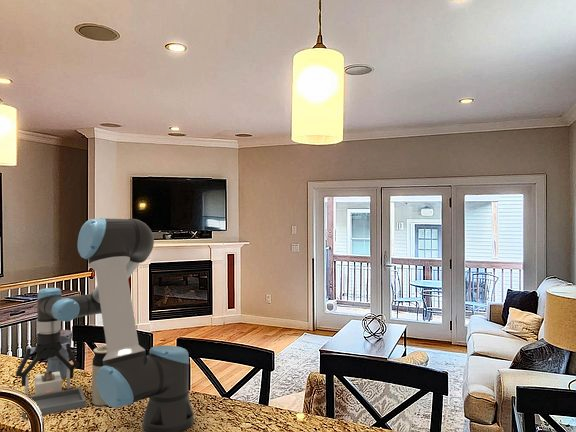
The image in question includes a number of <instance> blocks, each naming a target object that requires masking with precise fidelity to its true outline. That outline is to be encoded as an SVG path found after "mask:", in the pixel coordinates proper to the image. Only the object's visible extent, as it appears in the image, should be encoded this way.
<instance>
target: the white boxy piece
mask: <svg viewBox="0 0 576 432" xmlns="http://www.w3.org/2000/svg"><path fill="white" fill-rule="evenodd" d="M58 391H63V379H61V375H60V372H52V380H51V381H45V382H44V373H40V374H35V375H34V396H35V395H40V394H46V393H52V392H58Z"/></svg>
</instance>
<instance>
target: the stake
mask: <svg viewBox="0 0 576 432" xmlns="http://www.w3.org/2000/svg"><path fill="white" fill-rule="evenodd" d="M43 374H44V382H45V381H51V380H52V371H47V372H46V371H44V373H43Z"/></svg>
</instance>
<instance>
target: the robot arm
mask: <svg viewBox="0 0 576 432" xmlns="http://www.w3.org/2000/svg"><path fill="white" fill-rule="evenodd" d="M154 243H155V239H154V233H153V232H152V229H151V228H150V227H149V226H148V225H147V223H145V222H143V221H141V220H140V219H137V218H104V217H100V218H90V219H88V220H87V221H85V223H83V224H82V226H81V228H80V230H79V233H78V238H77V251H78V254H79V256H80V258H83V259H84V260H87V261H88V267H90V268H91V269H92V270H94V271H95V277H96V287H95V288H94V290H92V291H91V293H88V294H81V295H72V296H71V295H70V296H63V295H62V289H61V288H59V287H47V288H46V287H45V288H41V289H39V290H38V292H37V299H36V301H37V303H36V304H37V307H36V309H37V318H36V331H37V333H36V346H35V347H33V346H32V347H31V346H27V347H26V348H25V349H26V351H25V355H24V356H23V358H22V361H21V362H20V364H19V365H18V368H17V369H16V372H15V376H16V377H19V378H20V377H21V386H22V387H25V389H24V390H25V391H24V394H27V395H28V396H29V375H28V374H30V372H31V371H32V369H33V368H34V367H35V366H36V365H37V364H38V362H39V361H40V360H41V359H43V360H45V359H49V358H54V357H55V356H57V357H58V358H59V359H60V360H61V361H62V362H63V363H64V364H65V365H66V366H67V367H68V368H69V369H67V377H66V388H67V389H66V390H70V389H71V379H73V378H74V370H75V369H76V368H77V369H78V368H79V367H80V365H79V363H78V361H77V359H76V357H75V354H74V353H73V351H72V349H71V347H70V344H69V342H67V343H65V344H61V343H60V338H61V332H60V331H59V330H60V329H61V326H62V322H71V321H73V320H74V319H76V318H81V317H86V316H93V315H98V314H99V315H100V314H101V317H102V318H101V319H102V325H103V331H104V340H105V346H106V347H107V354H106V356H105V357H104V359H103V366H102V367H101V368H100V369H99V370H98V372H97V377H96V382H97V388H98V391H99V394H100V396H101V397H102V399H103V401H105V403H106V404H107V405H106V406H109V407H110V408H115V409H117V408H120V407H124V406H131V405H132V404H133V403H136V402H139V401H143V400H145V399H148V401H147V405H146V407H145V411H144V413H143V416H142V429H143V430H144V431H146V432H184V431H185V430H188V429H189V428H190V427H192V425H193V424H194V423H195V421H194V420H195V414H194V410H193V407H192V405H191V404H192V403H191V401H190V398H189V375H190V374H189V372H190V371H189V370H190V369H189V367H190V361H189V360H190V357H189V352H188V350H187V349H186V348H183V347H181V346H176V345H167V344H166V345H154V346H152V347H151V348H150V349H149V351H148V353H149V354H147V353H146V349H145V348H144V347H142V346H141V345H140V344H139V337H138V332H137V326H136V319H135V313H134V307H133V299H132V295H131V294H132V293H131V288H130V282H129V278H130V277H131V276H132V275H133V273H134V272H135V270H136V269H137V268H138V266H139V265H140V264H143V263H144V262H145V261H147V259H148V258H149V256H150V255H151V253H152V251H153V248H154ZM61 330H62V329H61ZM62 347H63V348H64V349H65V350H67V352H68V354H69V355H68V357H69V359H71V361H72V363H73V364H72V363H71V362H70V361H69V362H68V361H67V360H66V359H65V358H64V357H63V356H62V355H61V353H60V352H59V351H60V349H61V348H62ZM34 352H36V355H35V357H34V358H33V360H31V362H30V363H29V364H28V365H27V366H26V364H27V363H28V360H29V358H30V356H31V355H32V354H33V353H34ZM25 366H26V367H25ZM24 368H25V369H24Z"/></svg>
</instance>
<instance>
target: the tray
mask: <svg viewBox="0 0 576 432" xmlns="http://www.w3.org/2000/svg"><path fill="white" fill-rule="evenodd" d="M28 397H30V398H32V399H33V400H34V401H35V402H36V403H37V405H38V406H39V408H40V410H41V412H42V415H41V416H44V415H50V414H55V413H61V412H65V411H70V410H71V411H72V410H75V409H81V408H86V407H87V398H86V397H85V394H84V391H83V389H82V387H77V388H76V387H75V388H70V389H65V390H62V391H58V392H52V393H46V394H40V395H35V394H34V395H31V396H29V395H28ZM23 418H25V419H28V418H27V417H26V414H25V413H24V412H23V411H22V419H23Z"/></svg>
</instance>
